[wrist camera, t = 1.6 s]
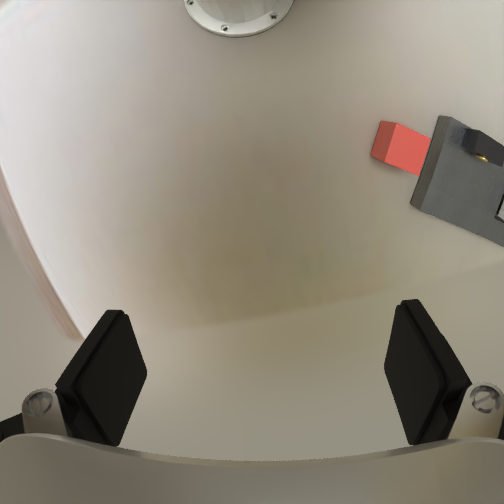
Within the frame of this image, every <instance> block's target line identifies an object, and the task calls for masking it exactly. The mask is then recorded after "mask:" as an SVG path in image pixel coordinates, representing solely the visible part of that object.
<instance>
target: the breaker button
mask: <svg viewBox="0 0 504 504" xmlns="http://www.w3.org/2000/svg"><path fill="white" fill-rule="evenodd" d="M498 217H500V218H502V219H503V220H504V201H503V203H502V206H501V209H500V211H499V214H498Z"/></svg>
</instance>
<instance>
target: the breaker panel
mask: <svg viewBox="0 0 504 504" xmlns="http://www.w3.org/2000/svg"><path fill="white" fill-rule="evenodd" d="M503 193H504V146H503V145H501V144H500V143H498V142H497V141H495V140H494V139H492V138H491V137H489V136H488V135H486V134H484V133H483V132H481V131H479V130H474V129H471V128H470V127H468V126H466V125H465V124H463V123H461V122H459V121H458V120H456V119H454V118H452V117H447V116H439V119H438V122H437V126H436V129H435V133H434V136H433V139H432V142H431V145H430V149H429V152H428V155H427V158H426V161H425V164H424V167H423V170H422V173H421V175H420V178H419V181H418V184H417V187H416V189H415V192H414V195H413V197H412V200H411V204H412V205H413V206H415V207H416V208H417V209H419V210H420V211H422V212H425V213H427V214H430V215H433V216H435V217H437V218H440V219H442V220H445V221H447V222H450V223H452V224H454V225H457V226H459V227H461V228H464V229H466V230H468V231H471V232H473V233H475V234H477V235H480V236H482V237H484V238H486V239H488V240H491V241H493V242H495V243H497V244H499V245H501V246H503V247H504V222H503V221H501V220H499V219H497V218H495V215H496V212H497V209H498V207H499V204H500V201H501V199H502V196H503Z"/></svg>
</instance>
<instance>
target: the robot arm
mask: <svg viewBox="0 0 504 504" xmlns="http://www.w3.org/2000/svg"><path fill="white" fill-rule="evenodd" d="M183 2H184V6H185V8H186V10H187V12H188V14H189V15H190V17H191V18H192V19H193V20H194V21H195V22H196V23H197V24H198V25H199V26H201V27H202V28H204V29H206V30H207V31H210V32H212V33H215V34H218V35H222V36H228V37H243V36H250V35H254V34H258V33H261V32H263V31H266V30H268V29H270V28H271V27H273V26H274V25H276V24H277V23H278V22H280V21H281V20H282V19H283V18H284V17H285V15H286V14H287V13H288V11H289V10H290V8H291V5H292V3H293V0H183ZM191 3H193V4H192V5H190V4H191ZM272 16H275V17H276V19H272V18H271V17H272ZM225 28H228V30H227V31H224V29H225ZM384 370H385V374H386V377H387V380H388V382H389V385H390V388H391V391H392V394H393V397H394V400H395V403H396V406H397V409H398V412H399V415H400V418H401V421H402V424H403V428H404V431H405V434H406V437H407V440H408V443H409V445H413V446H410V447H404V448H399V449H393V450H387V451H381V452H374V453H367V454H360V455H353V456H344V457H336V458H335V457H334V458H324V459H310V460H293V461H231V460H229V461H228V460H211V459H199V458H188V457H177V456H169V455H161V454H154V453H147V452H141V451H135V450H129V449H124V448H119V447H117V446H118V445H119V444H120V442H121V439H122V437H123V434H124V431H125V429H126V426H127V424H128V421H129V419H130V416H131V414H132V411H133V409H134V406H135V404H136V401H137V399H138V396H139V394H140V392H141V389H142V387H143V384H144V382H145V380H146V377H147V369H146V366H145V363H144V360H143V358H142V355H141V352H140V349H139V346H138V344H137V340H136V337H135V334H134V331H133V328H132V325H131V322H130V319H129V316H128V315H127V314H125V313H124V312H123V311H122V310H107V311H106V312H105V313H104V314H103V316H102V317H101V318H100V320H99V321H98V323H97V324H96V325H95V327H94V328H93V330H92V331H91V332H90V334H89V335H88V337H87V338H86V339H85V341H84V342H83V344H82V345H81V347H80V348H79V350H78V351H77V353H76V354H75V356H74V357H73V359H72V360H71V361H70V363H69V364H68V366H67V367H66V369H65V370H64V372H63V373H62V375H61V377H60V378H59V379H58V381H57V383H56V384H55V385H56V387H57V389H56V390H55V392H54V391H53V390H51V389H48V388H47V389H46V388H42V389H37V390H35V391H33V392H31V393H30V394H29V395H28V396H27V397H26V398H25V399H24V401H23V403H22V413H20V414H18V415H16V416H13V417H11V418H8V419H6V420H4V421H1V422H0V504H504V394H503V392H502V391H501V389H499V388H498V387H497V386H496V385H494V384H491V383H488V382H477V383H474V384H472V382H471V381H470V379H469V377H468V376H467V374H466V372H465V370H464V368H463V367H462V365H461V364H460V362H459V360H458V358H457V357H456V355H455V353H454V352H453V350H452V348H451V347H450V345H449V344H448V342H447V340H446V339H445V337H444V336H443V335H442V334H441V333H440V331H439V330H438V328H437V326H436V325H435V323H434V322H433V320H432V319H431V317H430V316H429V314H428V313H427V311H426V310H425V308H424V307H423V305H422V304H421V302H420V301H419V300H418V299H412V300H403V301H402V302H401V304H400V305H397V307H396V310H395V315H394V321H393V326H392V331H391V336H390V340H389V345H388V350H387V354H386V358H385V363H384Z"/></svg>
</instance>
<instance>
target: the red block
mask: <svg viewBox="0 0 504 504" xmlns="http://www.w3.org/2000/svg"><path fill="white" fill-rule="evenodd" d="M430 140H431V139H430V138H428V137H426V136H424V135H422V134H420V133H418V132H416V131H414V130H411V129H409V128H407V127H405V126H402V125H400V124H398V123H393V122H385V121H381V123H380V126H379V129H378V133H377V136H376V139H375V142H374V145H373V149H372V152H371V156H373V157H375V158H377V159H379V160H381V161H383V162H385V163H388V164H391V165H393V166H396V167H398V168H400V169H403V170H405V171H408V172H410V173H413V174H415V175H417V176H419V174H420V171H421V168H422V165H423V162H424V159H425V156H426V153H427V150H428V147H429V144H430Z"/></svg>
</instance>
